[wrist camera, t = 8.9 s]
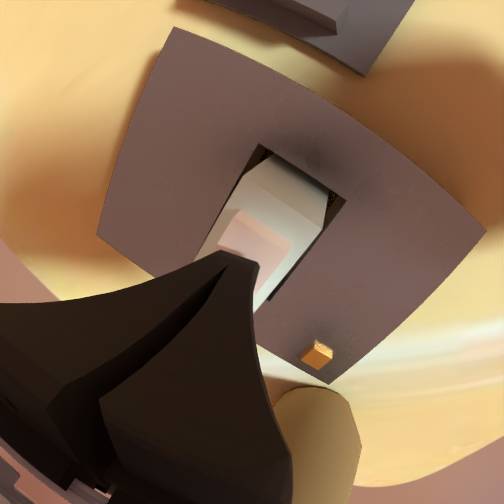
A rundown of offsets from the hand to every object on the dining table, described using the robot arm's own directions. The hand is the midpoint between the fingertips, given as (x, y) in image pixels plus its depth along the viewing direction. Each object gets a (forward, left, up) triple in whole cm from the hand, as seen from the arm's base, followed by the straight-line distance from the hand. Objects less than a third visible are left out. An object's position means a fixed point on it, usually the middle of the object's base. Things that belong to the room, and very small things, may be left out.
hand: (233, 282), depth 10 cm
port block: (0, 0, -7) cm, 7 cm away
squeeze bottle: (-11, +12, -8) cm, 18 cm away
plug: (0, 0, -7) cm, 7 cm away
